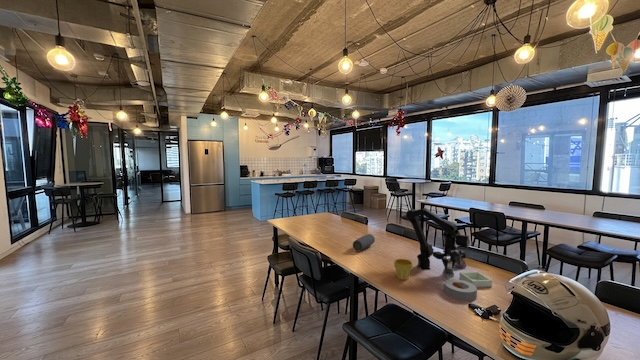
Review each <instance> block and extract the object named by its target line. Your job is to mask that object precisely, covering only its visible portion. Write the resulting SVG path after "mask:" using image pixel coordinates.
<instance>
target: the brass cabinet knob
mask: <svg viewBox="0 0 640 360" xmlns="http://www.w3.org/2000/svg"><path fill="white" fill-rule="evenodd" d="M447 259H448V258H447ZM452 263H453V260H451V259H448V261H447V269H445V267H444V269H443V270H444V272H446V273H454V269H453V268H452Z"/></svg>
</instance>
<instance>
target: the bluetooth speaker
mask: <svg viewBox="0 0 640 360" xmlns="http://www.w3.org/2000/svg"><path fill="white" fill-rule="evenodd" d="M375 241H376V239H375V236H374V235H373V234H371V233H368V234H365V235H362V236H361V237H359V238H357V239H355V240H354V241H353V242H352V248H353V249H354V251H356V252H361V251H362V252H364V251H365V250H367V249H368V248H369V247H370V246H372V245H373V244H374V243H375Z"/></svg>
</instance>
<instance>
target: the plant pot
mask: <svg viewBox="0 0 640 360" xmlns="http://www.w3.org/2000/svg"><path fill="white" fill-rule="evenodd" d="M393 263H394V268H395V271H396V277H397V278H398V279H399V280H402V281H404V280H405V281H406V280H409V278H410V273H411V271H412V269H413V261H411V260H409V259H405V258H397V259H394V262H393Z"/></svg>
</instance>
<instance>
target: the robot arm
mask: <svg viewBox="0 0 640 360" xmlns="http://www.w3.org/2000/svg"><path fill="white" fill-rule="evenodd" d="M405 216H406V218H407V220H408V221H409V222H410V224H412V228H413V230H414V232H415V235H416V238H417V240H418V243H419V251H420V253H419V254H418V255H416V257H417V264H416V266H417V268H419V270H431V260H430V258H431V257H432V256H433V258H435V259H437V260H441V262H442V264H443V267H444V268H445V269H447V261H448V257H449V258H450V259H451V260H453V263H452V269H453V268H454V264H455V262H456V261H457V260H460V258H463V259H467V254H466V252H465V251H463V250H460V251H458V250H457V249H458V248H457V246H458V247H462V248H467V249H468V248H469V247H470V244H471V243H470V242H471V241H470V236H469V235H464V234H461V232H460V230H458V226H457V224H456V223H454V222H451V221H448V220H445V219H443V218H441V217H440V216H439V215H437V214H435V213H434V212H432V211H431V210H429V209H428V208H425V207H424V208H420V209H415V208H413V209H408V210H407V211H406V213H405ZM420 216H424V217H426V218H427V219H429V220H431V222H434V223H435V224H437V225H438V226H439V227H440V228H441V230H442V231H444V232H443V233H441V236H442V237H444V243H443V247H444V250H442V252H443V253H442V252H441V251H434V250H435V248H433V245H432V243H431V244H430V243H428V241H427V239H426V236H425V234H424V231H423V229H422V226H421V223H420ZM456 245H457V246H456Z"/></svg>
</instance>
